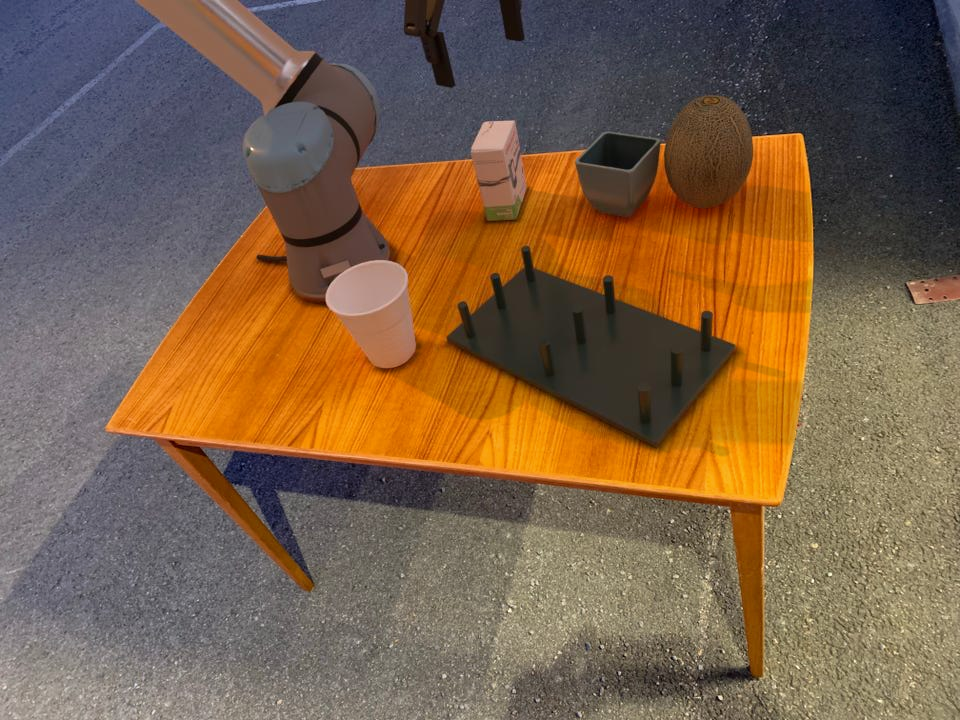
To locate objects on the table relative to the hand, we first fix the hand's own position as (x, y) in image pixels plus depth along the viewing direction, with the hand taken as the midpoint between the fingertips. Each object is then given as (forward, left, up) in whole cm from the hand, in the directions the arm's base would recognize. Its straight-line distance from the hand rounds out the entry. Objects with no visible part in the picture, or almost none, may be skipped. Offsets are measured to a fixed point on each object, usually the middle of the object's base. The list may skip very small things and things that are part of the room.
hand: (481, 61), depth 90 cm
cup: (+7, -32, -22) cm, 40 cm away
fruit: (+25, +13, -22) cm, 36 cm away
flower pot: (+15, +7, -22) cm, 28 cm away
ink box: (-1, 0, -22) cm, 23 cm away
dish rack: (+27, -19, -22) cm, 40 cm away
